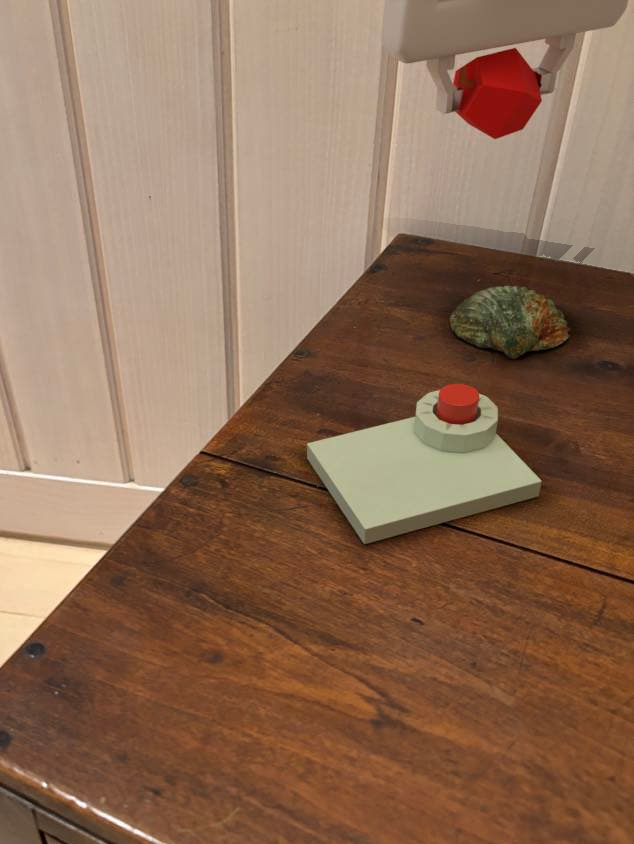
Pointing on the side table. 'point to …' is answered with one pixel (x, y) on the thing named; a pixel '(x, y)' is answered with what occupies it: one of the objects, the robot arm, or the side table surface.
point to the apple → (498, 93)
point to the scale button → (457, 404)
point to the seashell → (510, 321)
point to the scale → (421, 471)
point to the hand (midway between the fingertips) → (495, 101)
